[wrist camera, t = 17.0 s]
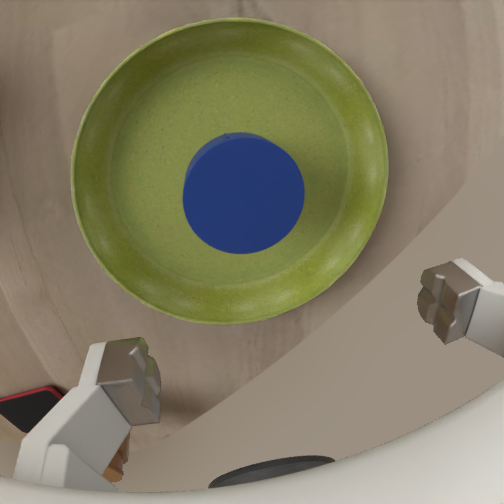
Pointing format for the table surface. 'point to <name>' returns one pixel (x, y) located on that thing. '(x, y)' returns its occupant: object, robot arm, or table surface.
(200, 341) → the table surface
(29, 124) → the table surface
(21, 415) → the smartphone
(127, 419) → the robot arm
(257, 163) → the jar lid
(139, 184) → the saucer
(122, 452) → the jar
